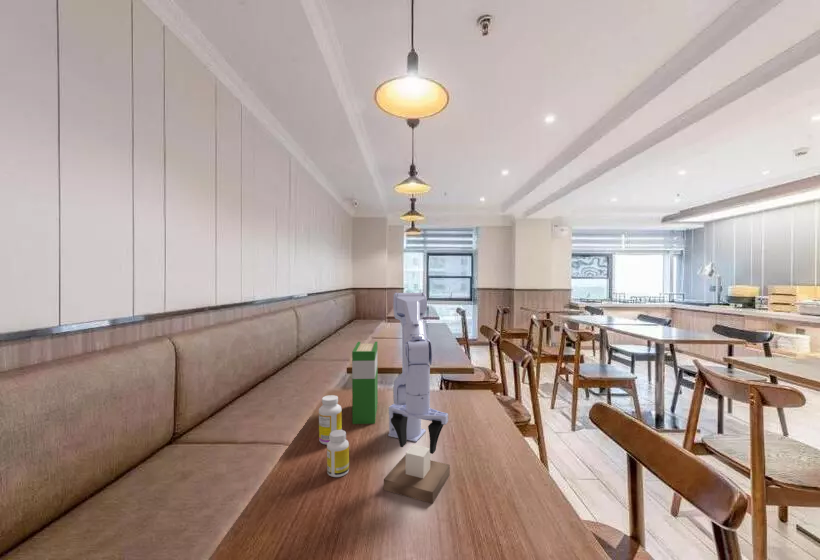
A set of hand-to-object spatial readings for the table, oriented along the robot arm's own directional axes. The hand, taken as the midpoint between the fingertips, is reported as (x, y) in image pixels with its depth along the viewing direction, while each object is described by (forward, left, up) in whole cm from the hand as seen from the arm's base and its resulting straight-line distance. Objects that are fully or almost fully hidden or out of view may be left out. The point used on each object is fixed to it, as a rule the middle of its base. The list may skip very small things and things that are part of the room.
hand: (417, 448), depth 84 cm
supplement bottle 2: (-20, -4, -8) cm, 22 cm away
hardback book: (-33, +31, -8) cm, 46 cm away
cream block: (0, 0, -6) cm, 6 cm away
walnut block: (0, 0, -8) cm, 8 cm away
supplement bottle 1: (-32, +9, -8) cm, 34 cm away
